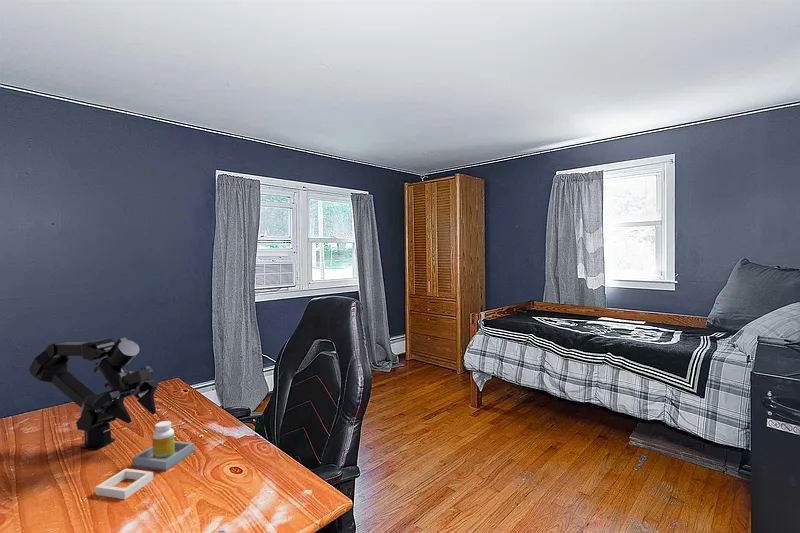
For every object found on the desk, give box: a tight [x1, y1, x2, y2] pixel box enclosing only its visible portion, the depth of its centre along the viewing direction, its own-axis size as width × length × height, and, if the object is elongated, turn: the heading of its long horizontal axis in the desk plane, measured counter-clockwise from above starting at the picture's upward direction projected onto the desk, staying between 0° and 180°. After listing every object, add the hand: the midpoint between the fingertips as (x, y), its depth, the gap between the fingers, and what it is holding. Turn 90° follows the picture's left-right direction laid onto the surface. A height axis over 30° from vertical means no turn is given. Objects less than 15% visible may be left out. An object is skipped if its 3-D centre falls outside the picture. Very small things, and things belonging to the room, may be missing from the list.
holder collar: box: [95, 468, 154, 500], centre depth 104 cm, size 9×9×2 cm
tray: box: [131, 440, 196, 472], centre depth 117 cm, size 11×11×2 cm
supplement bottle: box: [152, 420, 176, 460], centre depth 117 cm, size 5×5×10 cm
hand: (142, 417), depth 120 cm, fingers open, 9 cm apart
